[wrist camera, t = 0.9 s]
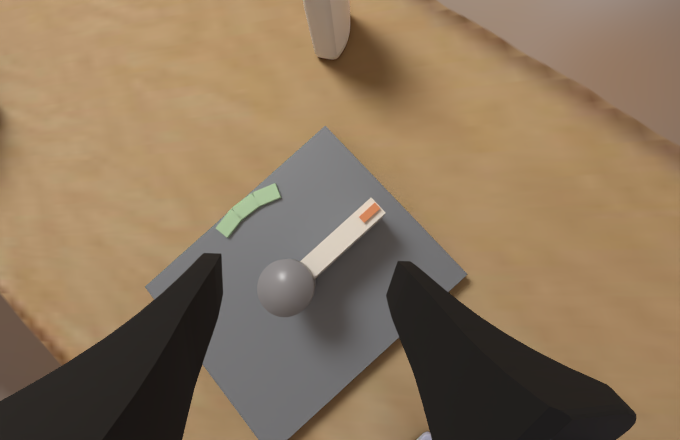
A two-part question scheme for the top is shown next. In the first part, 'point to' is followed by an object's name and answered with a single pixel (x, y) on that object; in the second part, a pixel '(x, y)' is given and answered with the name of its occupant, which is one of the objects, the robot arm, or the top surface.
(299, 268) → the peg key
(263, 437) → the dial board
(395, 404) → the top surface
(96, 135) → the top surface
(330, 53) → the eye dropper bottle
